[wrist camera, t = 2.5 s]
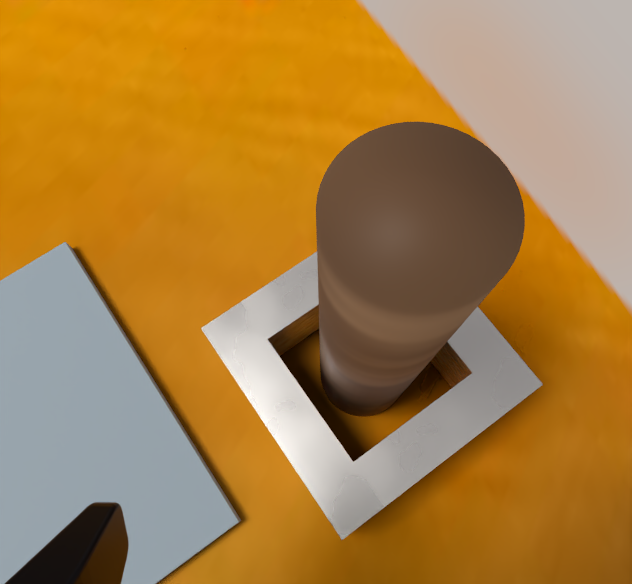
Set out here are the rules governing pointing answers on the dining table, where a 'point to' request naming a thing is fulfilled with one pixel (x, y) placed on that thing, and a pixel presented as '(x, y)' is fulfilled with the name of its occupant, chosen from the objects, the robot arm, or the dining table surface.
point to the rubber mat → (91, 429)
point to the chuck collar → (315, 435)
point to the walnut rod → (406, 254)
